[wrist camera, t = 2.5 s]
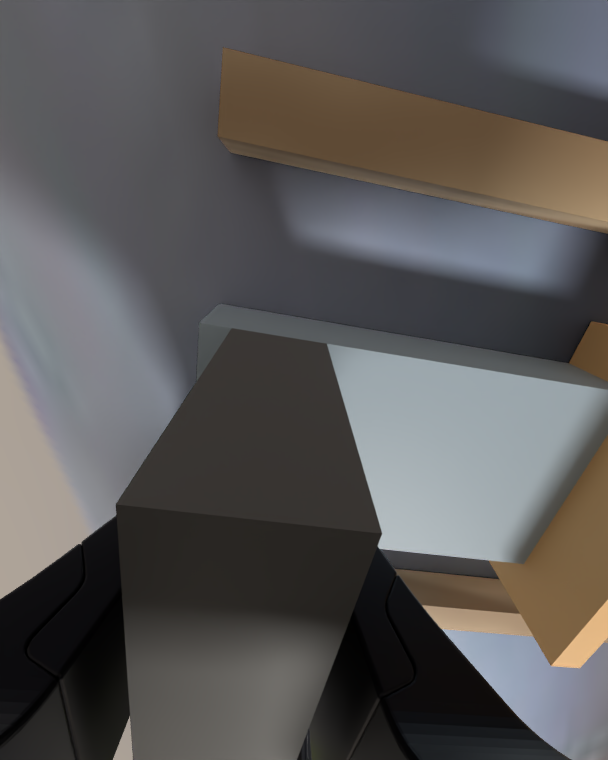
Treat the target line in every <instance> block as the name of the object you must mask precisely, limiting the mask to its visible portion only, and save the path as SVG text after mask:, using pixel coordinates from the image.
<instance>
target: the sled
mask: <svg viewBox="0 0 608 760" xmlns="http://www.w3.org/2000/svg"><path fill="white" fill-rule="evenodd" d="M116 513H117V528H118V543H119V558H120V573H121V588H122V603H123V618H124V633H125V648H126V663H127V677H128V692H129V707H130V721H131V736H132V751H133V760H297V758H298V755H299V753H300V750H301V747H302V745H303V742H304V739H305V737H306V734H307V732H308V729H309V726H310V724H311V721H312V718H313V716H314V713H315V710H316V708H317V705H318V702H319V700H320V697H321V694H322V692H323V689H324V687H325V684H326V681H327V679H328V676H329V673H330V671H331V668H332V665H333V663H334V660H335V657H336V655H337V652H338V649H339V647H340V644H341V642H342V639H343V636H344V634H345V631H346V628H347V626H348V623H349V620H350V618H351V615H352V612H353V610H354V607H355V604H356V602H357V599H358V597H359V594H360V591H361V589H362V586H363V583H364V581H365V578H366V575H367V573H368V570H369V567H370V565H371V562H372V560H373V557H374V554H375V552H376V549H377V546H378V547H379V549H385V550H395V551H404V552H414V553H423V554H433V555H442V556H452V557H461V558H471V559H480V560H489V562H490V564H491V566H492V567H493V569H494V571H495V572H496V574H497V576H498V577H499V579H500V581H501V582H502V584H503V586H504V587H505V589H506V591H507V592H508V594H509V596H510V598H511V599H512V601H513V603H514V604H515V606H516V608H517V609H518V611H519V613H520V614H521V616H522V618H523V619H524V621H525V623H526V625H527V626H528V628H529V630H530V631H531V633H532V635H533V636H534V638H535V640H536V641H537V643H538V645H539V646H540V648H541V650H542V652H543V653H544V655H545V657H546V658H547V660H548V662H549V663H550V665H551V666H557V667H571V668H580V667H581V666H582V665H583V664H584V663H585V662H586V661H587V660H588V659H589V657H590V656H591V655H592V654H593V653H594V652H595V651H596V650H597V649H598V648H599V647H600V645H601V644H602V643H603V642H604V641H605V640H606V639H607V638H608V324H604V323H598V322H593V321H591V323H590V325H589V327H588V328H587V330H586V332H585V334H584V336H583V338H582V340H581V341H580V343H579V345H578V347H577V349H576V351H575V353H574V354H573V356H572V358H571V360H570V362H569V363H564V362H559V361H553V360H547V359H541V358H535V357H529V356H523V355H518V354H512V353H506V352H500V351H494V350H488V349H482V348H477V347H471V346H465V345H459V344H453V343H447V342H442V341H436V340H430V339H424V338H418V337H412V336H406V335H401V334H395V333H389V332H383V331H377V330H371V329H366V328H360V327H354V326H348V325H342V324H336V323H330V322H325V321H319V320H313V319H307V318H301V317H295V316H290V315H284V314H278V313H272V312H266V311H260V310H254V309H249V308H243V307H237V306H231V305H225V304H218V305H217V306H216V307H215V308H214V309H213V310H212V311H211V312H210V313H209V314H208V315H207V316H206V317H205V318H203V319H202V320H201V321H200V322H199V333H198V353H197V372H196V383H195V385H194V386H193V388H192V389H191V391H190V392H189V394H188V396H187V397H186V399H185V400H184V402H183V403H182V405H181V406H180V408H179V409H178V411H177V412H176V414H175V415H174V417H173V418H172V420H171V421H170V423H169V424H168V426H167V427H166V429H165V430H164V432H163V434H162V435H161V437H160V438H159V440H158V441H157V443H156V444H155V446H154V447H153V449H152V450H151V452H150V453H149V455H148V456H147V458H146V459H145V461H144V462H143V464H142V465H141V467H140V468H139V470H138V472H137V473H136V475H135V476H134V478H133V479H132V481H131V482H130V484H129V485H128V487H127V488H126V490H125V491H124V493H123V494H122V496H121V497H120V499H119V500H118V502H117V503H116Z"/></svg>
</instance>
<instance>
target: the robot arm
mask: <svg viewBox="0 0 608 760" xmlns="http://www.w3.org/2000/svg"><path fill="white" fill-rule="evenodd" d="M396 575H397V572H396V570H395V569H394V568H393V566H392V565H391V564H390V562H389V561H388V560H387V558H386V557H385V555H384V554H383V553H382V551H381V550H380V549H379V547H378V546H377V549H376V552H375V554H374V557H373V560H372V562H371V565H370V567H369V570H368V573H367V575H366V578H365V581H364V583H363V586H362V589H361V591H360V594H359V597H358V599H357V602H356V604H355V607H354V610H353V612H352V615H351V618H350V620H349V623H348V626H347V628H346V631H345V634H344V636H343V639H342V642H341V644H340V647H339V649H338V652H337V655H336V657H335V660H334V663H333V665H332V668H331V671H330V673H329V676H328V679H327V681H326V684H325V687H324V689H323V692H322V694H321V697H320V700H319V702H318V705H317V708H316V710H315V713H314V716H313V718H312V721H311V724H310V726H309V729H308V732H307V734H306V737H305V739H304V742H303V745H302V747H301V750H300V753H299V755H298V758H297V760H571V759H569V758H568V757H566V756H565V755H563V754H562V753H560V752H558V751H557V750H556V749H554V748H553V747H552V746H550V745H549V744H548V743H546V742H545V741H544V740H543V739H542V738H540V737H539V736H538V735H537V734H536V733H535V732H533V731H532V730H531V729H530V728H529V727H528V726H527V725H526V724H525V723H524V722H523V721H522V720H521V719H520V718H519V717H518V716H517V715H516V714H515V713H514V712H513V711H512V710H511V708H510V707H509V706H508V705H507V704H506V703H505V702H504V701H503V699H502V698H501V697H500V696H499V695H498V694H497V693H496V691H495V690H494V689H493V688H492V687H491V686H490V685H489V683H488V682H487V681H486V680H485V679H484V678H483V677H482V675H481V674H480V673H479V672H478V671H477V670H476V669H475V667H474V666H473V665H472V664H471V663H470V662H469V661H468V659H467V658H466V657H465V656H464V655H463V654H462V652H461V651H460V650H459V649H458V648H457V647H456V646H455V644H454V643H453V642H452V641H451V640H450V639H449V638H448V636H447V635H446V634H445V633H444V632H443V630H442V629H441V628H440V627H439V626H438V624H437V623H436V622H435V621H434V620H433V618H432V617H431V616H430V615H429V614H428V613H427V611H426V610H425V609H424V607H423V606H422V605H421V603H420V602H419V601H418V600H417V598H416V597H415V596H414V594H413V593H412V592H411V591H410V589H409V588H408V586H407V585H406V584H405V582H404V581H403V580H402V578H401V577H400V576H399V575H397V576H396ZM129 716H130V707H129V692H128V677H127V663H126V648H125V633H124V618H123V603H122V588H121V573H120V558H119V543H118V528H117V515H116V516H115V517H114V518H112V519H111V520H110V521H108V522H107V523H106V524H104V525H103V526H102V527H100V528H99V529H98V530H96V531H95V532H94V533H93V534H91V535H90V536H89V537H87V538H86V539H85V540H83V541H82V545H81V544H78V545H76V546H75V547H74V548H72V549H71V550H70V551H68V552H67V553H66V554H65V555H63V556H62V557H61V558H59V559H58V560H56V561H55V562H54V563H52V564H51V565H49V566H48V567H47V568H45V569H44V570H43V571H41V572H40V573H38V574H37V575H36V576H34V577H33V578H32V579H30V580H29V581H27V582H26V583H24V584H23V585H21V586H20V587H18V588H17V589H15V590H14V591H12V592H11V593H9V594H8V595H6V596H5V597H3V598H2V599H0V760H113V757H114V755H115V752H116V750H117V747H118V745H119V742H120V739H121V737H122V734H123V732H124V729H125V727H126V724H127V721H128V719H129Z"/></svg>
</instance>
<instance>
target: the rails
mask: <svg viewBox="0 0 608 760" xmlns="http://www.w3.org/2000/svg"><path fill="white" fill-rule="evenodd" d="M218 138H219V139H220V140H221V141H222V143H223V144H224V145H225V146H226V148H227V149H228V150H229V151H230V153H235V154H239V155H244V156H249V157H253V158H258V159H262V160H267V161H272V162H276V163H281V164H286V165H290V166H295V167H300V168H304V169H309V170H314V171H318V172H323V173H327V174H332V175H337V176H341V177H346V178H351V179H355V180H360V181H365V182H369V183H374V184H379V185H383V186H388V187H393V188H397V189H402V190H406V191H411V192H416V193H420V194H425V195H430V196H434V197H439V198H444V199H448V200H453V201H458V202H462V203H467V204H472V205H476V206H481V207H485V208H490V209H495V210H499V211H504V212H509V213H513V214H518V215H523V216H527V217H532V218H537V219H541V220H546V221H550V222H555V223H560V224H564V225H569V226H574V227H578V228H583V229H588V230H592V231H597V232H602V233H606V234H608V141H603V140H599V139H595V138H591V137H587V136H583V135H579V134H575V133H571V132H567V131H563V130H559V129H555V128H550V127H546V126H542V125H538V124H534V123H530V122H526V121H522V120H518V119H514V118H510V117H506V116H502V115H497V114H493V113H489V112H485V111H481V110H477V109H473V108H469V107H465V106H461V105H457V104H453V103H449V102H444V101H440V100H436V99H432V98H428V97H424V96H420V95H416V94H412V93H408V92H404V91H400V90H396V89H391V88H387V87H383V86H379V85H375V84H371V83H367V82H363V81H359V80H355V79H351V78H347V77H343V76H338V75H334V74H330V73H326V72H322V71H318V70H314V69H310V68H306V67H302V66H298V65H294V64H290V63H285V62H281V61H277V60H273V59H269V58H265V57H261V56H257V55H253V54H249V53H245V52H241V51H237V50H232V49H228V48H224V47H223V53H222V70H221V86H220V103H219V119H218ZM395 570H396V572H397V575H399V576H400V577H401V578H402V580H403V581H404V582H405V584H406V585H407V586H408V588H409V589H410V591H411V592H412V593H413V594H414V596H415V597H416V598H417V600H418V601H419V602H420V603H421V605H422V606H423V607H424V609H425V610H426V611H427V613H428V614H429V615H430V616H431V617H432V618H433V620H434V621H435V622H436V623H437V624H438V626H439V627H440V628H441V629H448V630H461V631H473V632H485V633H497V634H509V635H521V636H533V635H532V633H531V631H530V630H529V628H528V626H527V625H526V623H525V621H524V619H523V618H522V616H521V614H520V613H519V611H518V609H517V608H516V606H515V604H514V603H513V601H512V599H511V598H510V596H509V594H508V592H507V591H506V589H505V587H504V586H503V584H502V582H501V581H500V579H492V578H482V577H472V576H462V575H452V574H442V573H432V572H422V571H412V570H402V569H395ZM397 575H396V576H397ZM533 637H534V636H533ZM604 642H606V643H608V638H607V639H606V640H605V641H604Z"/></svg>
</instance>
